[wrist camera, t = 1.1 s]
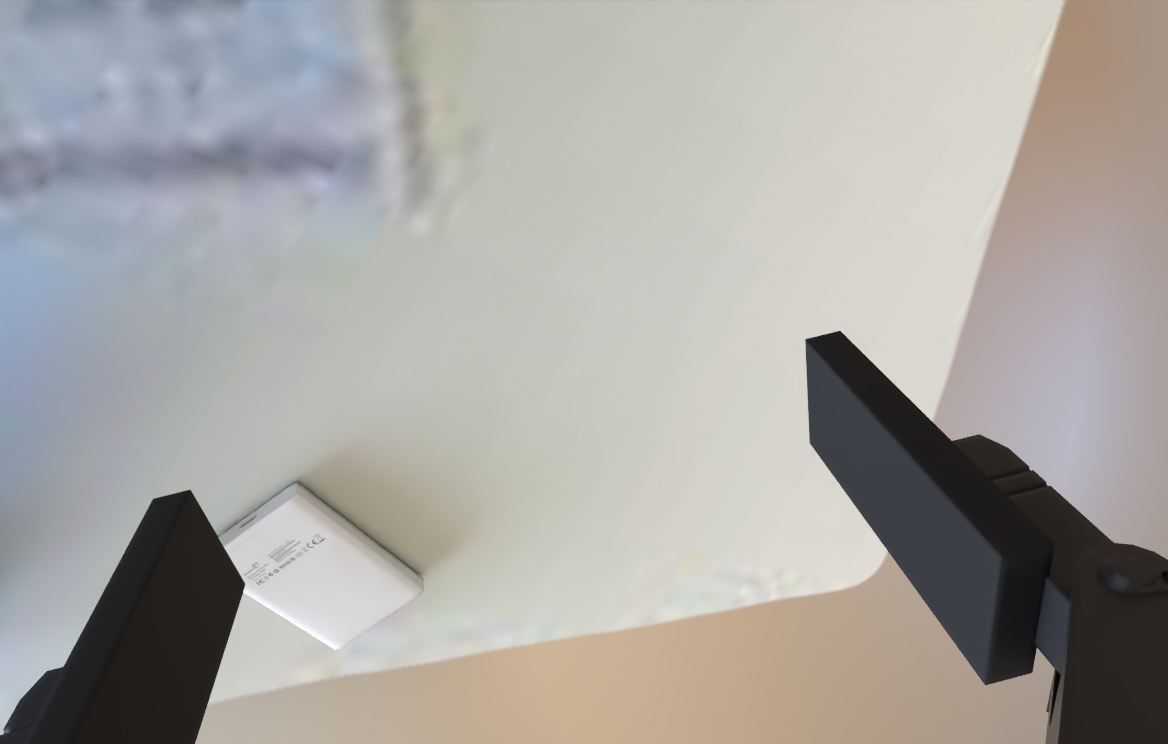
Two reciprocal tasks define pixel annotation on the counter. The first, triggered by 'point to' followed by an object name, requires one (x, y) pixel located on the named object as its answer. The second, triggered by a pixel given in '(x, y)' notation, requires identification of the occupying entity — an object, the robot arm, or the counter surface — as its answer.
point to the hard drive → (317, 567)
